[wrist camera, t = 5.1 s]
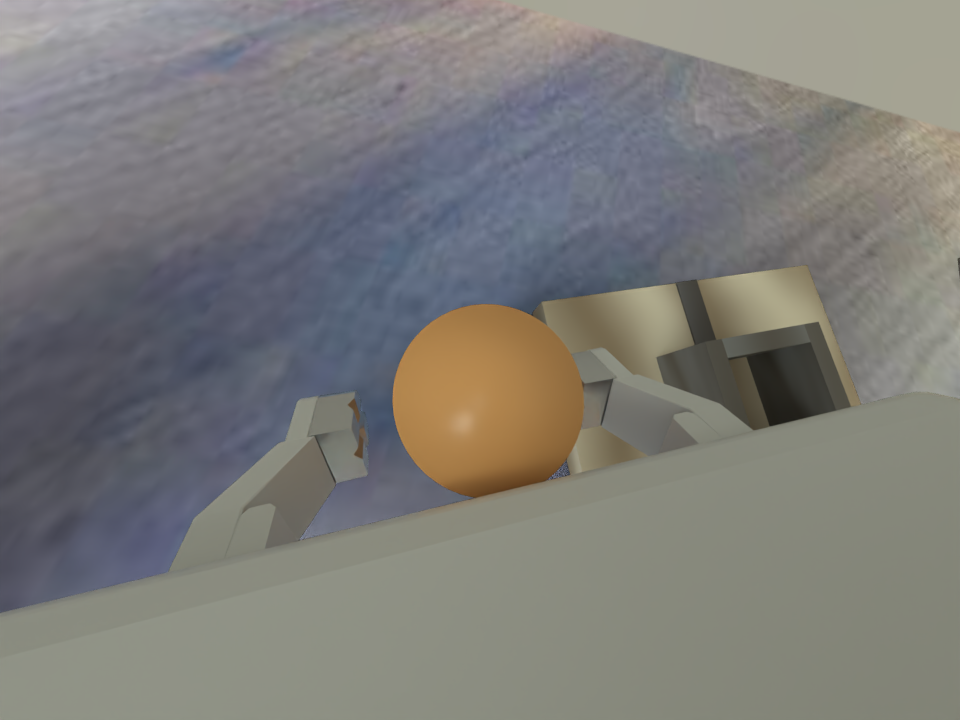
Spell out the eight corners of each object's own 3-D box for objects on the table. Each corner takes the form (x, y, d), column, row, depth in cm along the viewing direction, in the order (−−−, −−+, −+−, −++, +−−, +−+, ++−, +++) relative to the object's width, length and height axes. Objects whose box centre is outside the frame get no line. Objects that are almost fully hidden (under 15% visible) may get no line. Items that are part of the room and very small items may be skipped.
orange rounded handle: (421, 463, 15) (409, 521, 6) (409, 385, 16) (378, 317, 6) (497, 447, 16) (604, 473, 6) (483, 373, 17) (559, 292, 7)
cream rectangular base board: (594, 580, 15) (660, 640, 11) (532, 312, 18) (566, 273, 13) (862, 498, 18) (998, 519, 14) (780, 276, 20) (875, 235, 16)
